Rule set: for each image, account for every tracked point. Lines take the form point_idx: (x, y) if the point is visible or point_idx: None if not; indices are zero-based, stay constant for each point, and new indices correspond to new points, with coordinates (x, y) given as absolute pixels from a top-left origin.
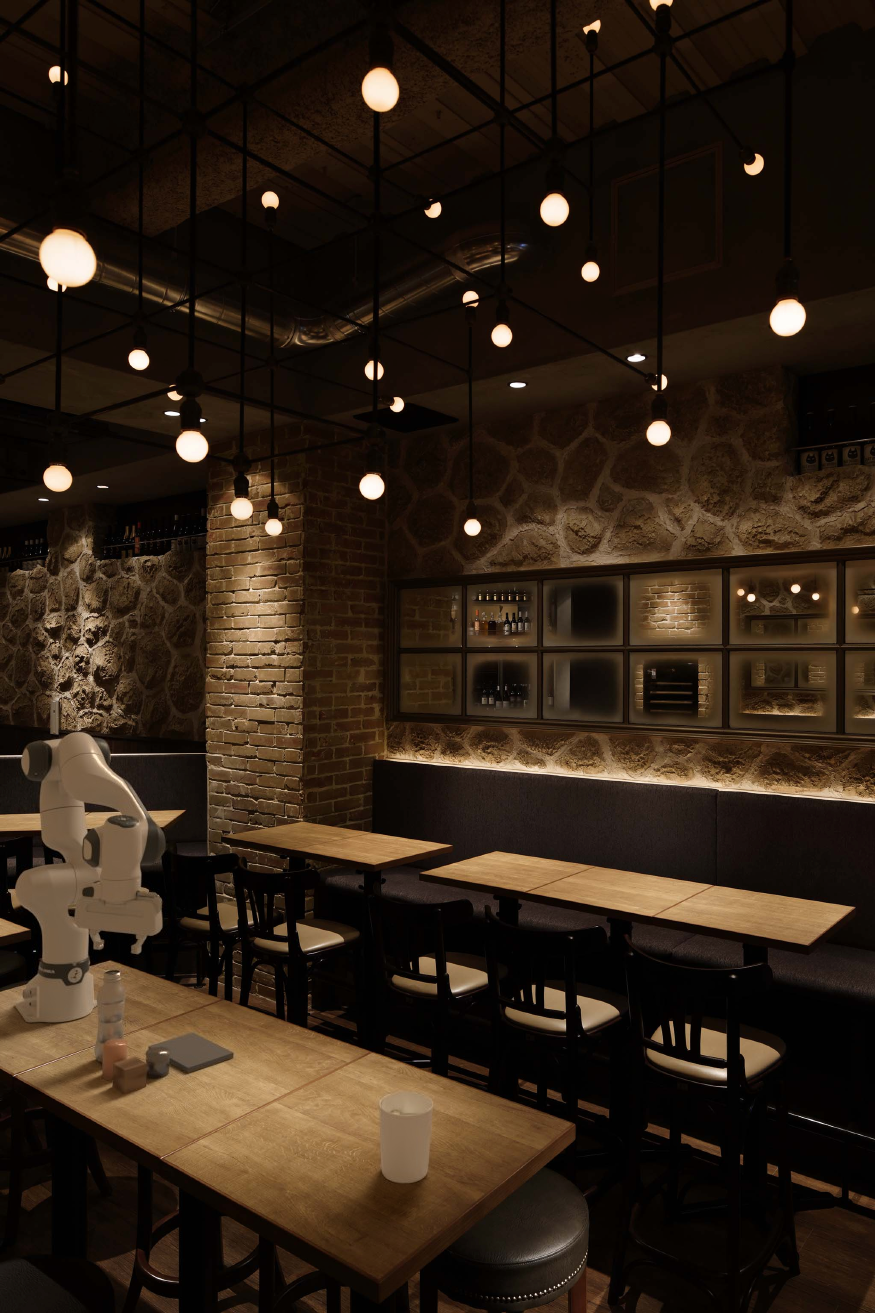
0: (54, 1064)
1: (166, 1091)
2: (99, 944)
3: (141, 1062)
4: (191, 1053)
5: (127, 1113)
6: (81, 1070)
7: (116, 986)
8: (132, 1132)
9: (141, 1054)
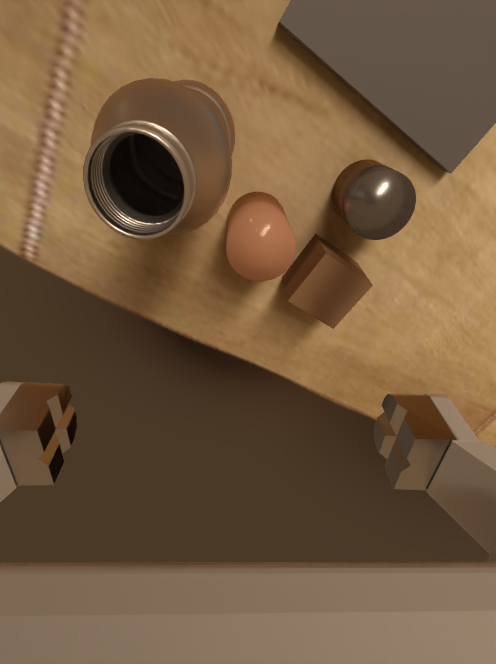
0: (65, 189)
1: (410, 273)
2: (60, 465)
3: (357, 283)
4: (444, 59)
5: (359, 364)
6: None
7: (195, 199)
8: None
9: (265, 56)
